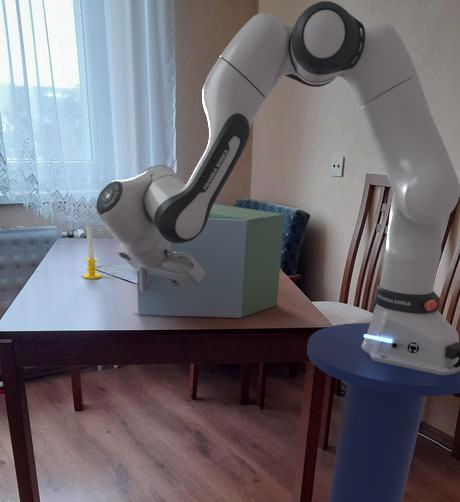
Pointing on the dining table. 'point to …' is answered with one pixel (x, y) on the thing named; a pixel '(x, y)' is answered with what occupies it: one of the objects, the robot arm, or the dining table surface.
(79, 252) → the dining table surface
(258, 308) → the cupboard
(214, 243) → the cupboard door
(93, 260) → the candle
